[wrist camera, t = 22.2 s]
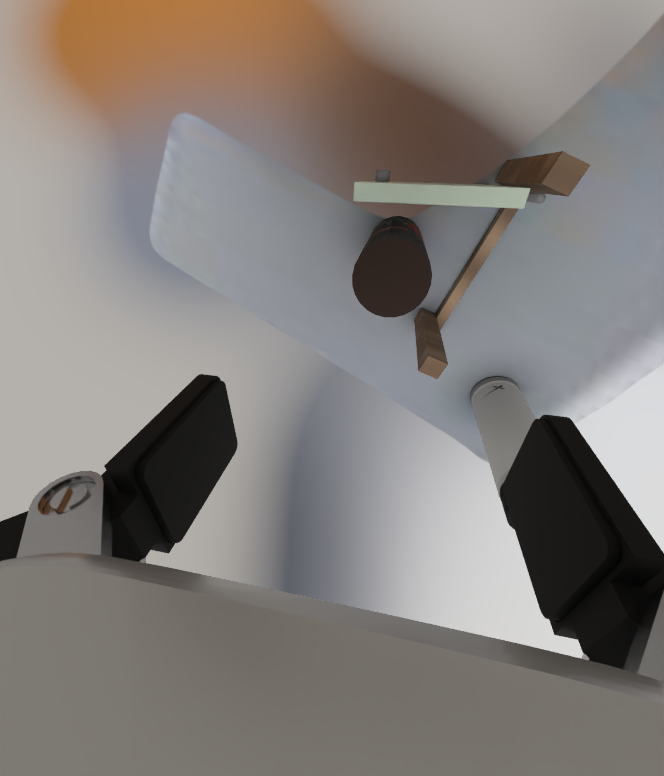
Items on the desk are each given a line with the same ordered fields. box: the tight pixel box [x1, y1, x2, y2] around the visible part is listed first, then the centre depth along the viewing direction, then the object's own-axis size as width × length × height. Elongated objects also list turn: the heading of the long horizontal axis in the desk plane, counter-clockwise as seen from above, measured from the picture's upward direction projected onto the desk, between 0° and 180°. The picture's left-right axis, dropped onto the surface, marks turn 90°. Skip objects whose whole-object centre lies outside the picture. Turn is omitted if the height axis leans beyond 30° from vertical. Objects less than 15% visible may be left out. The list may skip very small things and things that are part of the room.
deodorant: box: [352, 216, 432, 317], centre depth 30 cm, size 6×6×15 cm
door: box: [353, 171, 546, 209], centre depth 27 cm, size 14×2×12 cm, turn 88°
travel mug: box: [470, 377, 535, 529], centre depth 36 cm, size 6×7×20 cm
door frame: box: [414, 151, 590, 379], centre depth 30 cm, size 18×3×13 cm, turn 159°
